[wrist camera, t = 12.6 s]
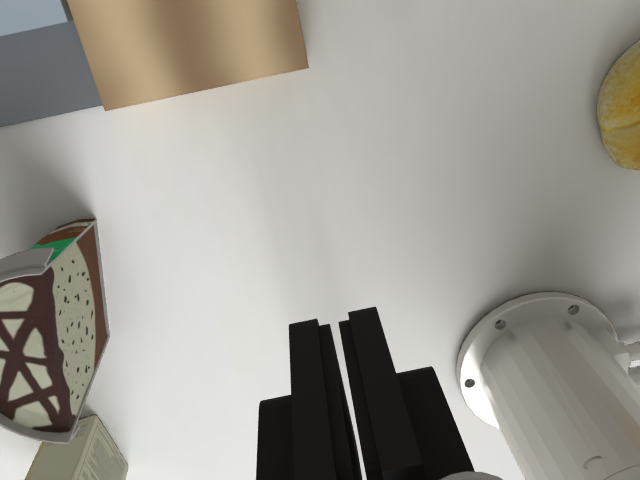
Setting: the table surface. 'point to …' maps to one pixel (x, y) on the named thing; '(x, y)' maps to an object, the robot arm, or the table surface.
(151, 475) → the table surface
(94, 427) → the skincare box
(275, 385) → the table surface
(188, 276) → the table surface
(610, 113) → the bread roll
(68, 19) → the tile
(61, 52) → the mat
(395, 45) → the table surface
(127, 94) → the wooden block
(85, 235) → the food container
